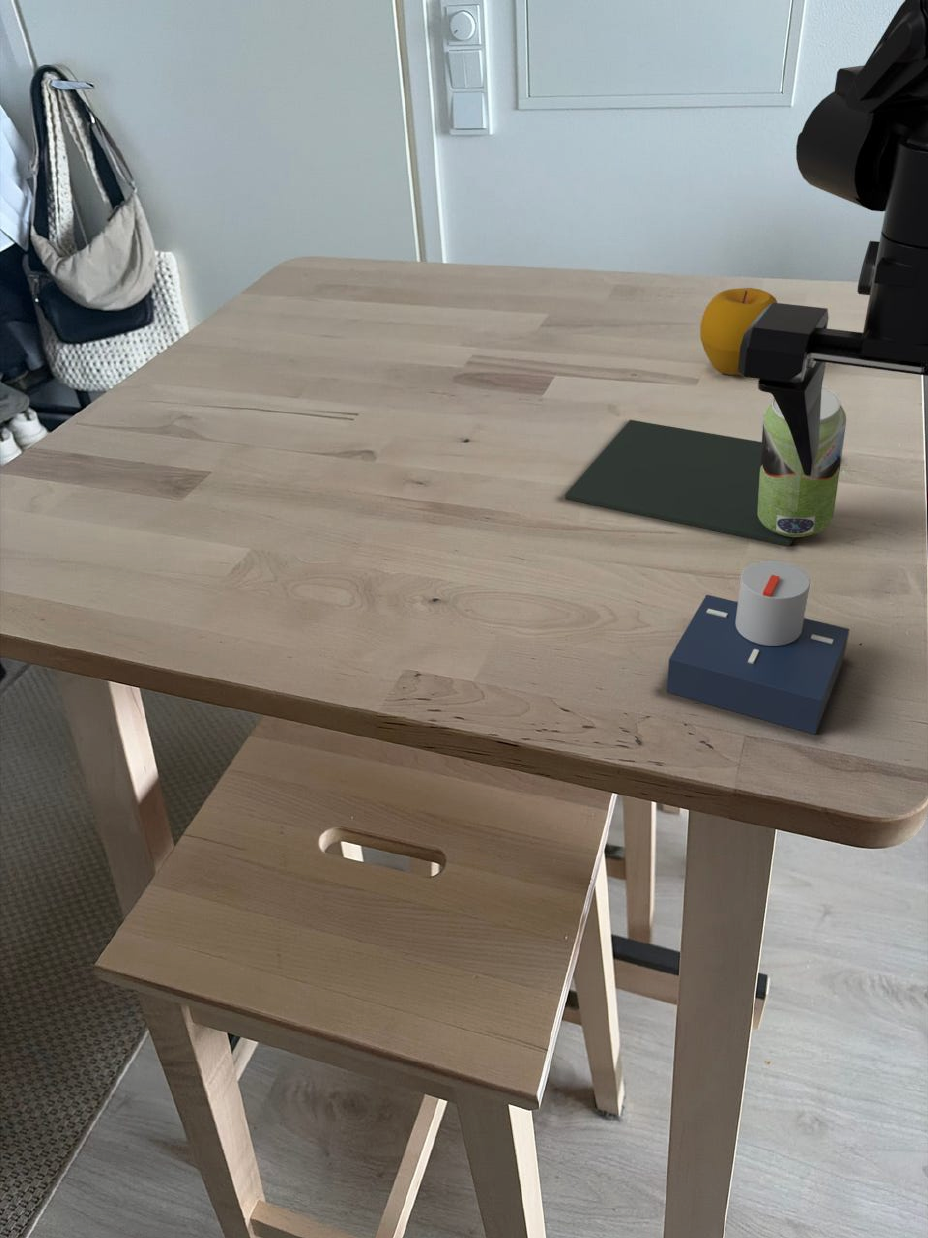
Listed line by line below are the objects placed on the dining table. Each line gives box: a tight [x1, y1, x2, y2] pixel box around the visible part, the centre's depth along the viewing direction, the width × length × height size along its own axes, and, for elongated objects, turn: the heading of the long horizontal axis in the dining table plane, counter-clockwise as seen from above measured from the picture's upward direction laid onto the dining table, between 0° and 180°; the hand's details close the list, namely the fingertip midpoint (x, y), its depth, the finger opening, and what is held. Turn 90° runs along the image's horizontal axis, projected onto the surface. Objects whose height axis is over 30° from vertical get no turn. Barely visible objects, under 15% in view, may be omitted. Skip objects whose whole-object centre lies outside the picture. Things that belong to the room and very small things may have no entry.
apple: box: [699, 287, 778, 376], centre depth 106 cm, size 8×8×9 cm
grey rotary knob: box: [735, 560, 811, 646], centre depth 67 cm, size 4×4×4 cm
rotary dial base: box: [666, 594, 850, 735], centre depth 69 cm, size 10×10×3 cm
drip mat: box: [564, 419, 795, 547], centre depth 91 cm, size 20×16×1 cm
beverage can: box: [757, 386, 847, 538], centre depth 79 cm, size 6×7×12 cm
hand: (883, 486), depth 63 cm, fingers open, 9 cm apart
